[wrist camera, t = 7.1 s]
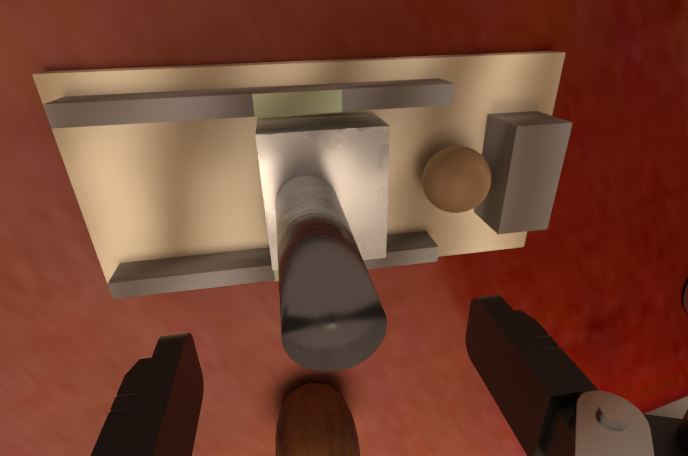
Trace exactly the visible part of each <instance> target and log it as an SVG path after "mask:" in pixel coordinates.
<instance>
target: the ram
mask: <svg viewBox="0 0 688 456" xmlns="http://www.w3.org/2000/svg"><path fill="white" fill-rule="evenodd" d="M255 136H256V144H257V151H258V159H259V167H260V175H261V183H262V191H263V199H264V207H265V215H266V223H267V231H268V239H269V247H270V255H271V262H272V270H278V272H279V293H280V313H281V334H282V343H283V346H284V349H285V351H286V352H287V354H288V355H289V356H290V358H291V359H293V360H294V361H295V362H296V363H298V364H299V365H301V366H303V367H306V368H309V369H312V370H317V371H337V370H342V369H346V368H349V367H352V366H354V365H357V364H359V363H361V362H362V361H364V360H365V359H367V358H368V357H369V356H371V355H372V354H373V353H374V352H375V351H376V350H377V348H378V347H379V346H380V344H381V343H382V341H383V339H384V336H385V333H386V328H387V320H386V315H385V313H384V310H383V308H382V305H381V303H380V300H379V298H378V295H377V293H376V290H375V288H374V285H373V283H372V281H371V278H370V276H369V273H368V271H367V268H366V266H365V263H364V261H363V260H369V259H378V258H386V241H387V207H388V174H389V141H390V126H389V125H388V124H387V123H386V122H385V121H383V120H382V119H381V118H380V117H379V116H378V115H376V114H375V113H362V114H346V115H329V116H312V117H295V118H279V119H262V120H257V123H256V134H255Z"/></svg>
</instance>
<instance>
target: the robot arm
mask: <svg viewBox="0 0 688 456" xmlns="http://www.w3.org/2000/svg"><path fill="white" fill-rule="evenodd" d="M683 302H684V307H685V309H686V311H687V313H688V283H687V286H686V289H685V292H684V299H683ZM466 348H467V352H468V355H469V357H470V359H471V361H472V363H473V364H474V366H475V368H476V370H477V371H478V373H479V375H480V376H481V378H482V380H483V381H484V383H485V385H486V386H487V388H488V390H489V392H490V393H491V395H492V397H493V398H494V400H495V402H496V403H497V405H498V407H499V408H500V410H501V412H502V414H503V415H504V417H505V419H506V420H507V422H508V424H509V425H510V427H511V429H512V430H513V432H514V434H515V436H516V437H517V439H518V441H519V442H520V444H521V446H522V447H523V449H524V451H525V452H526V454H527V456H688V410H687V412H686V414H685V415H684V417H683V419H677V418H669V417H662V416H654V415H647V414H642V413H641V412H640V411H639V410H638V409H637V408H636V407H635V406H634V405H633V404H631V403H630V402H628V401H627V400H625V399H623V398H621V397H619V396H617V395H614V394H612V393H608V392H604V391H599V390H598V389H597V388H596V387H595V386H594V385H593V383H592V382H591V381H590V380H589V379H588V378H587V377H586V376H585V375H584V373H583V372H582V371H581V370H580V369H579V368H578V367H577V366H576V364H575V363H574V362H573V361H572V360H571V359H570V358H569V357H568V355H567V354H566V353H565V352H564V351H563V350H562V349H561V348H559V347H558V344H557V343H556V342H555V341H554V340H553V339H552V338H551V337H549V336H548V333H547V332H546V331H545V330H544V329H543V327H542V326H541V325H540V324H539V323H538V322H537V321H536V320H535V319H533V318H531V317H530V316H528V315H527V314H525V313H523V312H522V311H520V310H516V311H513V309H512V308H511V307H510V306H509V305H508V304H507V302H506V301H505V300H504V299H503V298H502V297H501V296H499V295H494V296H486V297H478V298H473V299H472V301H471V304H470V311H469V318H468V325H467V332H466ZM203 387H204V386H203V375H202V370H201V367H200V363H199V359H198V355H197V352H196V348H195V344H194V340H193V337H192V335H191V334H190V333H186V334H178V335H170V336H162V337H160V338H159V340H158V342H157V345H156V348H155V350H154V353H153V356H152V358H146V359H139V361H138V362H137V363H136V364H135V365H134V366H133V367H132V368H131V369H130V371H129V372H128V373H127V374H126V375H125V376H124V379H123V381H122V383H121V386H120V388H119V390H118V393H117V397H115V400H114V402H113V404H112V407H111V412H110V413H109V414H108V416H107V419H106V421H105V423H104V426H103V428H102V430H101V433H100V435H99V437H98V440H97V442H96V444H95V447H94V449H93V451H92V454H91V456H192V451H193V446H194V441H195V435H196V430H197V425H198V420H199V415H200V409H201V404H202V399H203Z"/></svg>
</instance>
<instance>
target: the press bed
mask: <svg viewBox="0 0 688 456" xmlns="http://www.w3.org/2000/svg"><path fill="white" fill-rule="evenodd" d="M565 53H566V52H557V51H538V52H513V53H488V54H463V55H438V56H413V57H388V58H363V59H338V60H313V61H288V62H263V63H238V64H213V65H188V66H163V67H138V68H113V69H88V70H63V71H44V72H39V73H35V74H32V76H33V78H34V81H35V84H36V87H37V89H38V92H39V95H40V98H41V101H42V103H43V106H44V109H45V112H46V114H47V117H48V120H49V123H50V125H51V128H52V131H53V134H54V137H55V139H56V142H57V145H58V148H59V150H60V153H61V156H62V159H63V162H64V164H65V167H66V170H67V173H68V175H69V178H70V181H71V184H72V186H73V189H74V192H75V195H76V198H77V200H78V203H79V206H80V209H81V211H82V214H83V217H84V220H85V223H86V225H87V228H88V231H89V234H90V236H91V239H92V242H93V245H94V247H95V250H96V253H97V256H98V259H99V261H100V264H101V267H102V270H103V272H104V275H105V278H106V281H107V284H108V286H109V289H110V292H111V295H112V297H113V299H117V298H126V297H135V296H143V295H152V294H160V293H169V292H178V291H186V290H195V289H204V288H212V287H221V286H229V285H238V284H247V283H255V282H264V281H272V280H275V281H279V272H278V270H272V262H271V255H270V247H269V239H268V231H267V223H266V215H265V207H264V199H263V191H262V183H261V175H260V167H259V159H258V151H257V144H256V136H255V134H256V123H257V120H262V119H279V118H295V117H312V116H329V115H346V114H362V113H375V114H376V115H378V116H379V117H380V118H381V119H382V120H383V121H385V122H386V123H387V124H388V125H389V126H390V141H389V174H388V207H387V241H386V258H378V259H369V260H363V261H364V263H365V266H366V268H367V269H376V268H385V267H393V266H402V265H410V264H419V263H428V262H436V261H437V258H438V257H440V256H449V255H457V254H466V253H475V252H484V251H492V250H501V249H510V248H518V247H524V244H525V239H526V235H527V231H535V230H544V229H547V228H548V224H549V220H550V216H551V211H552V207H553V203H554V199H555V195H556V191H557V186H558V182H559V178H560V174H561V170H562V165H563V161H564V157H565V153H566V149H567V145H568V140H569V136H570V132H571V128H572V124H573V123H572V122H569V121H566V120H563V119H560V118H557V117H554V116H552V113H553V109H554V104H555V99H556V95H557V90H558V85H559V81H560V76H561V71H562V67H563V62H564V57H565ZM451 146H465V147H469V148H471V149H473V150H475V151H477V152H478V153H480V154H481V155H482V156H483V157H484V159H485V160H486V161H487V163H488V165H489V168H490V171H491V185H490V189H489V192H488V194H487V195H486V197H485V198H484V200H483V201H482V202H481V203H480V204H479V205H478V206H476V207H475V208H473V209H471V210H468V211H466V212H461V213H450V212H446V211H443V210H440V209H439V208H437V207H435V206H434V205H433V204H432V203H431V202H430V201H429V200H428V198H427V197H426V195H425V193H424V190H423V186H422V175H423V171H424V168H425V166H426V164H427V162H428V161H429V159H430V158H431V157H432V156H433V155H434V154H436V153H437V152H438V151H440V150H442V149H444V148H447V147H451Z"/></svg>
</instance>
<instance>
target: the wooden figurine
mask: <svg viewBox="0 0 688 456" xmlns="http://www.w3.org/2000/svg"><path fill="white" fill-rule="evenodd" d="M276 456H360V450H359V442H358V436H357V432H356V427H355V423H354V420H353V417H352V414H351V411H350V409H349V407H348V405H347V403H346V401H345V400H344V398H343V397H342V395H341V394H340V393H339V392H338V391H337V390H336V389H335V388H333V387H331V386H330V385H328V384H321V383H306V384H304V385H302V386H299V387H297V388H296V389H295V390H294V391H292V392H291V393H290V394H289V395H288V396H287V397H286V399H285V401H284V403H283V405H282V408H281V410H280V413H279V417H278V422H277V429H276Z"/></svg>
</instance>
